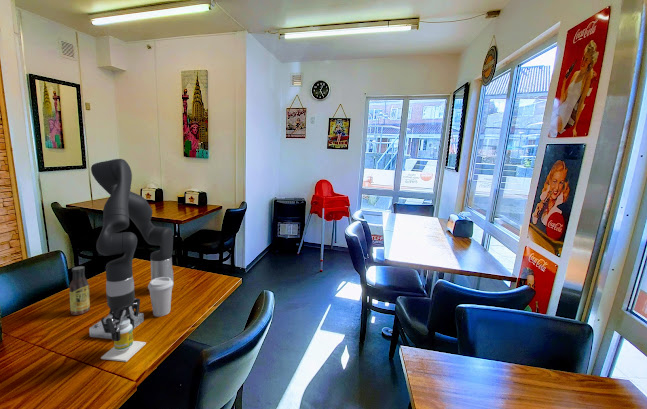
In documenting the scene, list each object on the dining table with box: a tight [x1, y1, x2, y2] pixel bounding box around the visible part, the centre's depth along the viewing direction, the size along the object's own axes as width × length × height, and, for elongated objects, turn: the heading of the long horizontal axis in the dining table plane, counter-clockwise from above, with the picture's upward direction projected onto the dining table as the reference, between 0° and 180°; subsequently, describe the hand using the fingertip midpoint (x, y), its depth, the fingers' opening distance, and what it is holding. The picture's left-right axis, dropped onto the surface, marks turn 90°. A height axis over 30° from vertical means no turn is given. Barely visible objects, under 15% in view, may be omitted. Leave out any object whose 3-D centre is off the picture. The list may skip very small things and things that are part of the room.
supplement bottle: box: [113, 318, 134, 351], centre depth 92 cm, size 5×5×10 cm
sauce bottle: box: [68, 265, 91, 316], centre depth 112 cm, size 7×6×20 cm
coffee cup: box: [147, 277, 174, 318], centre depth 116 cm, size 10×10×15 cm
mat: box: [100, 340, 147, 363], centre depth 93 cm, size 9×9×1 cm
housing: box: [88, 312, 145, 340], centre depth 104 cm, size 12×12×4 cm
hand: (123, 334), depth 92 cm, fingers closed on supplement bottle, 5 cm apart
